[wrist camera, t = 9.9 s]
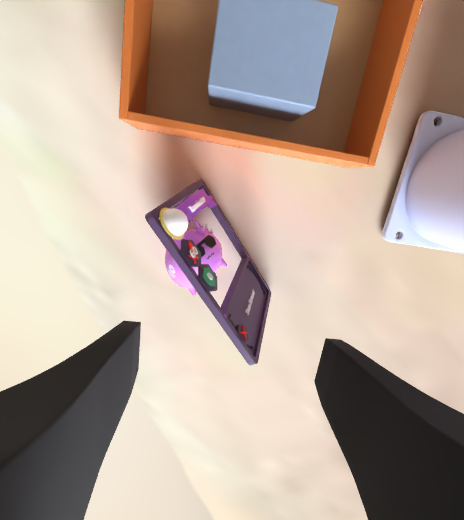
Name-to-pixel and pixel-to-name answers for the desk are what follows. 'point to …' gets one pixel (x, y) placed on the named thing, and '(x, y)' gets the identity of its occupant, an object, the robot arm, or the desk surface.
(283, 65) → the small cube
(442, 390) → the desk surface
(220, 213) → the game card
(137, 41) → the wooden tray
